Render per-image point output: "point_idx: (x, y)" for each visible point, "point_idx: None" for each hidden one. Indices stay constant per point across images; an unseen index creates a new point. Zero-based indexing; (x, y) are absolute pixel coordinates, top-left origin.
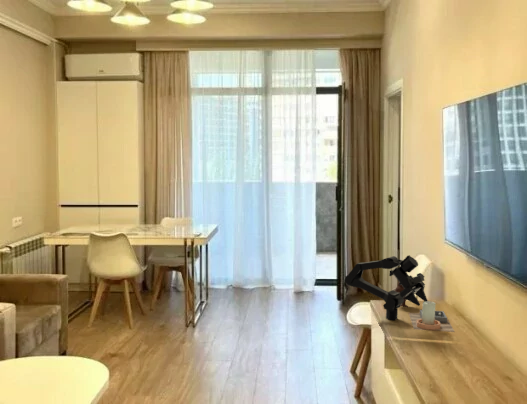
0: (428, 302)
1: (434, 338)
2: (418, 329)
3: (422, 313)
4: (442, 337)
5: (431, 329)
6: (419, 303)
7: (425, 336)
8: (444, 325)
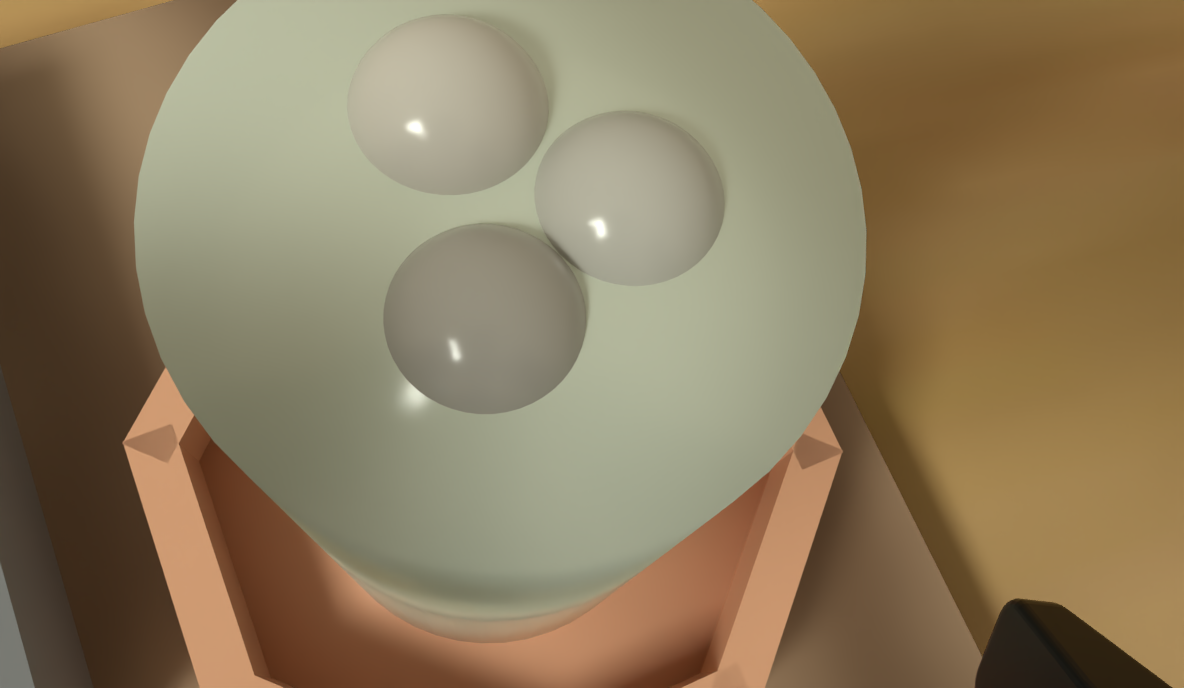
0: (685, 182)
1: (1135, 179)
2: (948, 596)
3: (622, 584)
4: (966, 66)
5: None
6: (1076, 636)
7: (1146, 362)
8: None
